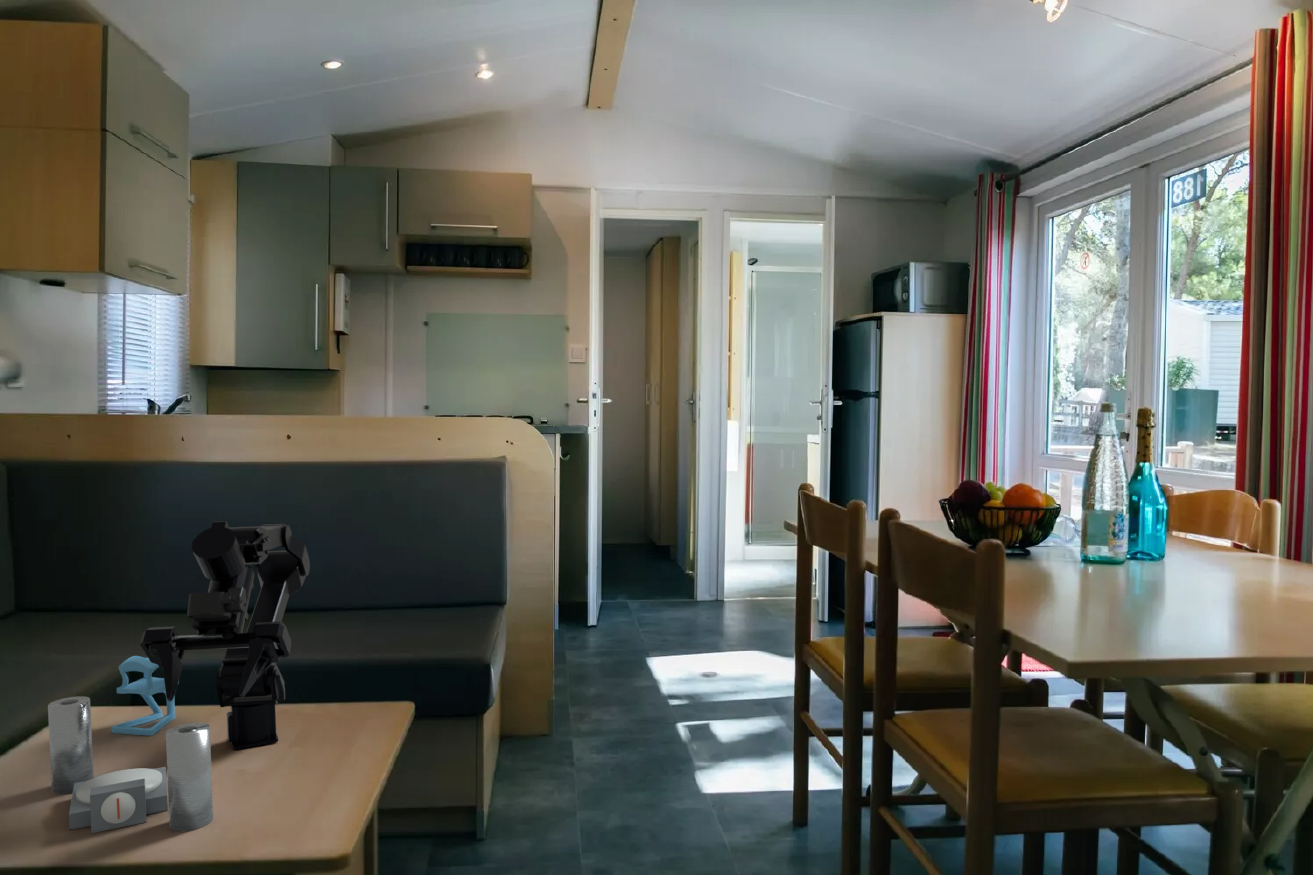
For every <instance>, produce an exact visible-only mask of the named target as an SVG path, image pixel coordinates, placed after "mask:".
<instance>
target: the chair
mask: <svg viewBox="0 0 1313 875" xmlns="http://www.w3.org/2000/svg"><path fill="white" fill-rule="evenodd" d="M158 668H160V667H159V666H158V664H154V663H151V662H150V660H149V658H148V657H143V656H139V655H132V656H130V657H129V658H127V659H125V660H124V661H123V662H122V663H121V664H120V665H119V666H118V670H119V673H120V675H121V677H122V684H121V686H118V687H116V694H122V695H124V694H136V695H140V696H141V697H142V698H143V700H144V701H145V702H146V704H147V705H148V706H149V708H150V710H151V711H152V712H153V713H151V714H148V715H145V716H141V717H137V718H135V719H131V720H127V721H125V722H121V723H118V724H116V725H115V724H114V725H113V726H111V732H112V733H113V734H122V735H123V734H124V735H136V736H147V737H150V736H154V735H156V733H158V732H159V731H161V730H162V729H164V727H166V725H168V724H169V723H170V722H172V721H173V720H175V719H176V709H175V701H176V700H175V697H176V696H175V695H176V694H175V695H174V698H173V700H172V701H168V700H167V697H166V689H165V682H164V677H154V676H152V673H154V672H155V671H156V670H158ZM129 672H139V673H140V672H141V673H143V678H139V679H137V680H136V681H133V682H131V683H129V677H128V675H127V673H129ZM179 683H180V680H179V681H178V685H179ZM160 693H164V695H165V700H166V715H165V716H164V715H163V711H162V709H161V708H160V707H159V706H160V705H159V704H158V703H157V702H156V701H155V698H154V697H153V695H155V694H160ZM156 720H158V722H156V723H155V724H154V725H153V726H151V727H149V728H146V727H136V726H139V725H142V724H147V723H149V722H154V721H156Z"/></svg>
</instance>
